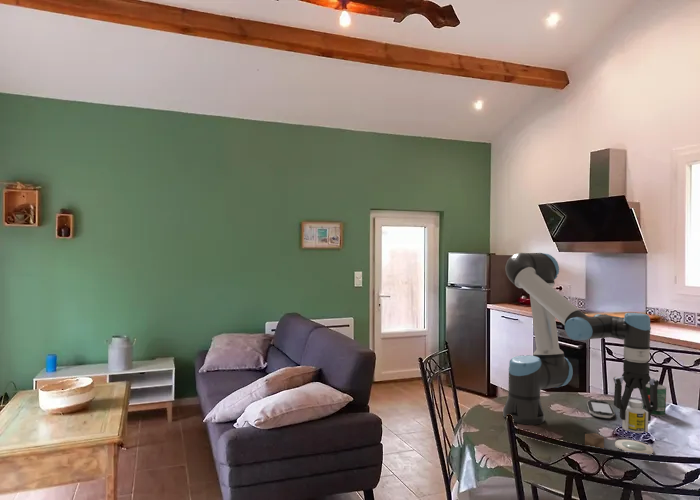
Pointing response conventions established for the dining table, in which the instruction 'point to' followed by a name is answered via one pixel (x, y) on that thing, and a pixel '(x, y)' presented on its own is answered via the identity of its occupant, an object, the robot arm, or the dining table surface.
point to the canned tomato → (661, 400)
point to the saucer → (633, 446)
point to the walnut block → (594, 440)
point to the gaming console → (600, 409)
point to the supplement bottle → (636, 416)
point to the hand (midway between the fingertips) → (634, 429)
